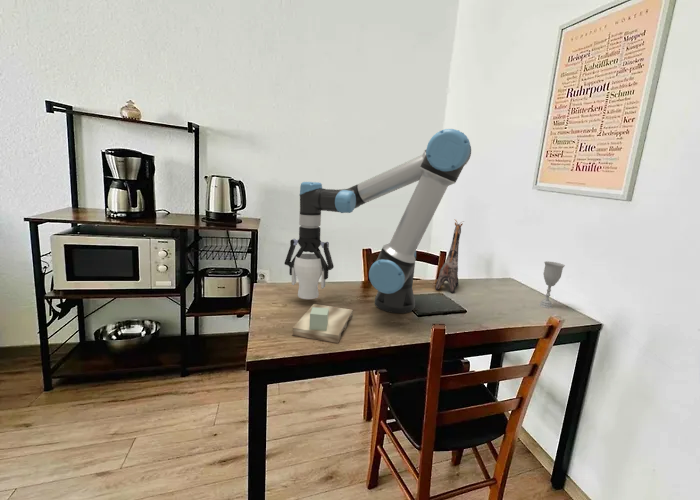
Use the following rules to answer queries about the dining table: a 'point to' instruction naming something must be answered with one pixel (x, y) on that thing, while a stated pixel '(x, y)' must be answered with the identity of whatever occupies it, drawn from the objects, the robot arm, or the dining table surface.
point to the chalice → (551, 279)
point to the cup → (308, 275)
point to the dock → (334, 328)
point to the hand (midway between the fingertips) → (308, 285)
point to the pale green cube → (319, 319)
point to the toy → (451, 263)
